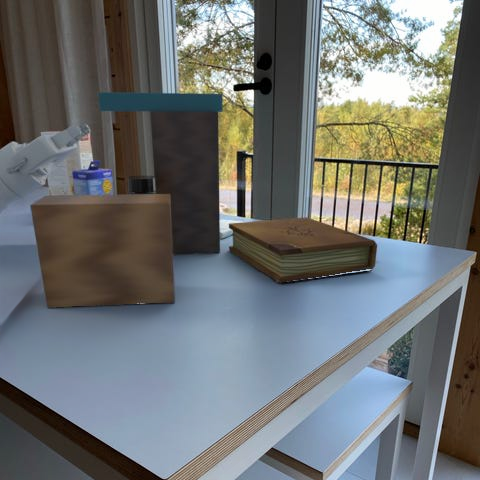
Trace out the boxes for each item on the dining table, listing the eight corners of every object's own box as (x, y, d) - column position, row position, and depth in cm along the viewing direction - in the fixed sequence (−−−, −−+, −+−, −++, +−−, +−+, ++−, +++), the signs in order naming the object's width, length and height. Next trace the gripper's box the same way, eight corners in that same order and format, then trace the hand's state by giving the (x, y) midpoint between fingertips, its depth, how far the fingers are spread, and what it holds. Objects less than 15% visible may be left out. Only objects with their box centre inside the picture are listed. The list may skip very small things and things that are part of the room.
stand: (159, 254, 94) (150, 111, 83) (160, 244, 101) (152, 111, 91) (220, 253, 95) (218, 111, 85) (216, 243, 102) (214, 112, 92)
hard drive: (248, 229, 116) (222, 239, 106) (220, 225, 119) (192, 235, 109) (249, 222, 115) (222, 232, 105) (220, 219, 119) (192, 228, 109)
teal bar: (100, 110, 85) (98, 92, 83) (102, 111, 87) (100, 93, 86) (222, 111, 87) (222, 93, 86) (221, 111, 90) (221, 94, 89)
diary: (374, 272, 84) (378, 240, 81) (279, 284, 77) (281, 250, 75) (308, 242, 103) (310, 216, 101) (228, 250, 97) (228, 222, 94)
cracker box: (98, 203, 148) (90, 131, 139) (85, 206, 142) (76, 132, 134) (64, 200, 153) (54, 130, 145) (50, 203, 148) (39, 131, 139)
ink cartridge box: (92, 220, 124) (85, 162, 118) (76, 218, 126) (68, 161, 120) (116, 214, 132) (111, 159, 126) (101, 212, 134) (95, 158, 128)
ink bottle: (146, 234, 110) (143, 180, 105) (118, 229, 114) (113, 178, 109) (172, 226, 118) (170, 176, 113) (145, 222, 122) (141, 174, 117)
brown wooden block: (47, 308, 67) (29, 204, 61) (59, 289, 74) (45, 195, 69) (174, 303, 69) (169, 202, 64) (174, 285, 77) (170, 193, 71)
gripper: (-10, 156, 77) (60, 110, 76) (26, 148, 96) (82, 112, 94) (16, 190, 80) (84, 147, 78) (46, 176, 98) (102, 141, 97)
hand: (83, 127), depth 87 cm, fingers open, 8 cm apart
